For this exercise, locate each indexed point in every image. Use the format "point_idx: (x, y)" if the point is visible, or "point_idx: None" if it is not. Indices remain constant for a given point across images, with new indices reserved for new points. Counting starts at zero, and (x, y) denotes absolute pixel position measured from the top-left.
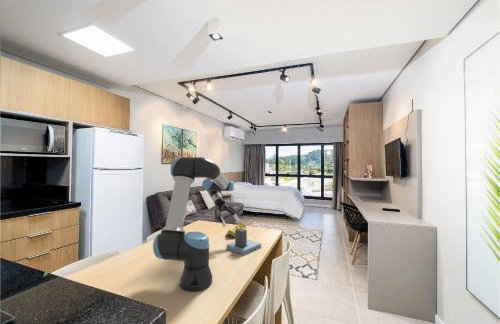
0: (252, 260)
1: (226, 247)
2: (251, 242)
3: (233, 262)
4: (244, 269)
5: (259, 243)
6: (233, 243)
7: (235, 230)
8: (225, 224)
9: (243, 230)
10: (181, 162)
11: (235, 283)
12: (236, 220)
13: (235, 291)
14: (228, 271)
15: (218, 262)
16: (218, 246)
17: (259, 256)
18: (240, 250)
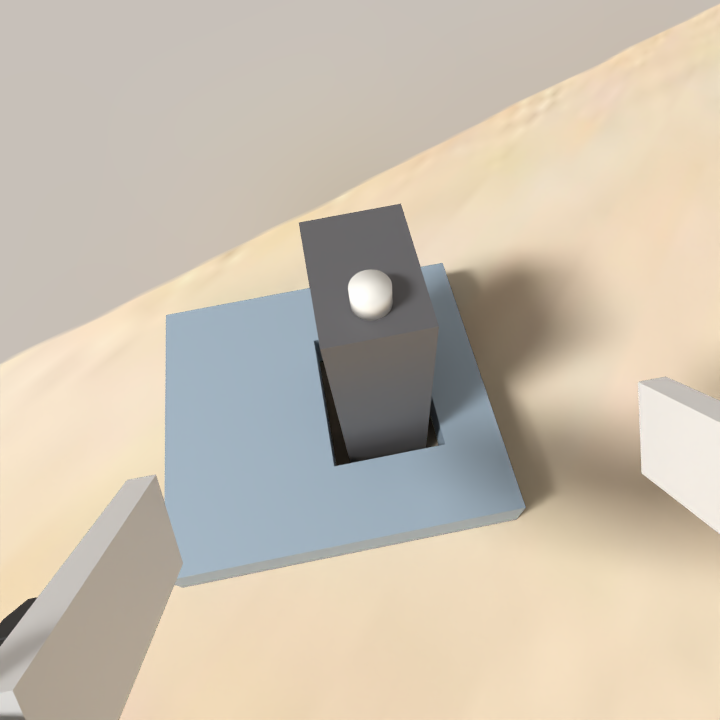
0: (436, 189)
1: (518, 514)
2: (217, 391)
3: (587, 228)
4: (560, 130)
5: (179, 322)
6: (416, 494)
7: (437, 330)
8: (663, 381)
9: (350, 232)
10: None
11: (678, 60)
12: (153, 599)
13: (703, 23)
14: (675, 153)
15: (713, 283)
16: (586, 663)
17: (345, 210)
18: (453, 298)
